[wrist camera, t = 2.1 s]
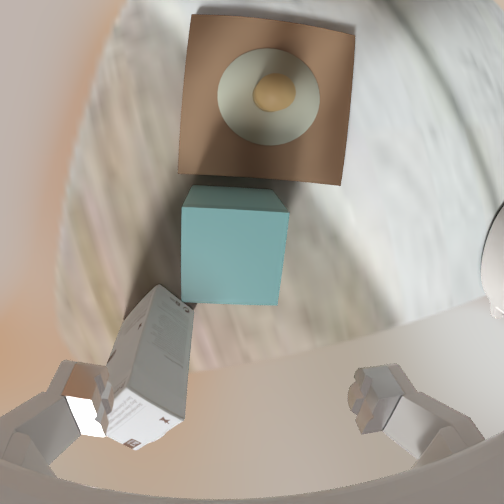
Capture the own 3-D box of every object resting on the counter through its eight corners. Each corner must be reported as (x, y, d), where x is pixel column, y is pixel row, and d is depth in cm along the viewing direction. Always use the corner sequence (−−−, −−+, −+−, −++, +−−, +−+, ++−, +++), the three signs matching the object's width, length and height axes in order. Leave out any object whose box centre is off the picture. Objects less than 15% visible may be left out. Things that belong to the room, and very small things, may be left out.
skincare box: (157, 280, 26) (123, 382, 15) (198, 311, 28) (188, 420, 17) (120, 323, 28) (80, 423, 17) (158, 350, 29) (137, 454, 18)
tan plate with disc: (349, 39, 20) (371, 26, 16) (335, 182, 25) (355, 194, 21) (192, 19, 19) (187, -1, 15) (179, 171, 23) (171, 180, 19)
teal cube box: (272, 189, 24) (289, 212, 18) (264, 262, 27) (277, 305, 20) (192, 185, 24) (181, 207, 17) (190, 258, 26) (181, 301, 20)
